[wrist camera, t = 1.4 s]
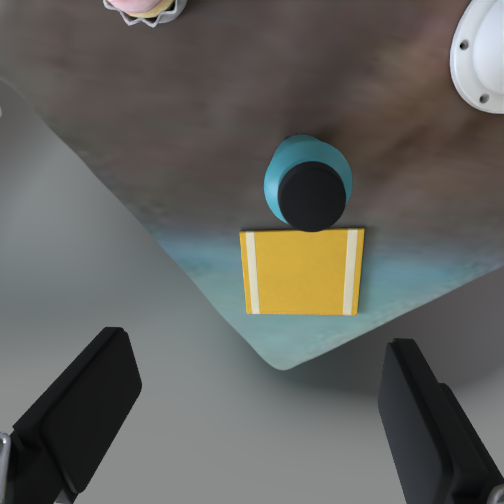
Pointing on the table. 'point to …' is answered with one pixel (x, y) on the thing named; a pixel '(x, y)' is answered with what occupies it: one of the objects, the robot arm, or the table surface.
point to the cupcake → (147, 10)
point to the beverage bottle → (307, 183)
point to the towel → (302, 271)
